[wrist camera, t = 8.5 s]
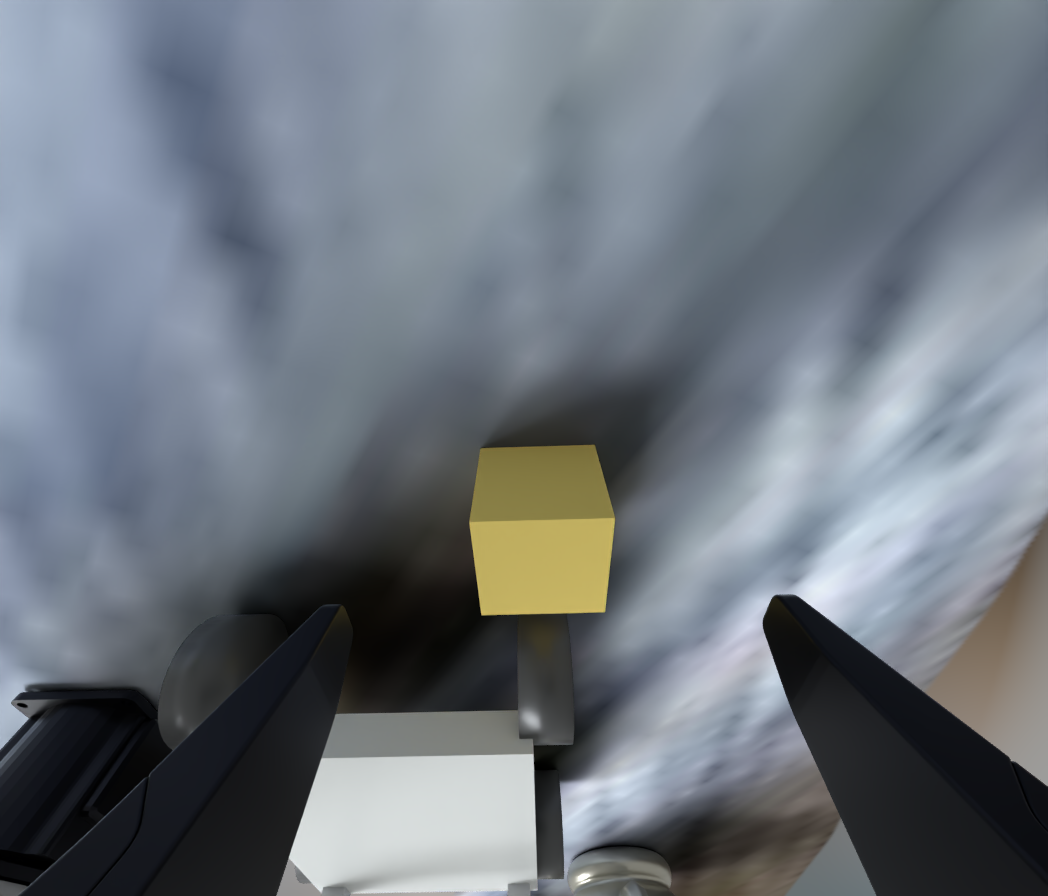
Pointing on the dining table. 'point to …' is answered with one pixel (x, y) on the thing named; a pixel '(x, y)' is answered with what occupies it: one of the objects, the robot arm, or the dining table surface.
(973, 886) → the robot arm
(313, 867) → the trolley
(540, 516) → the yellow step block
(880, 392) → the dining table surface
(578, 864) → the teapot
